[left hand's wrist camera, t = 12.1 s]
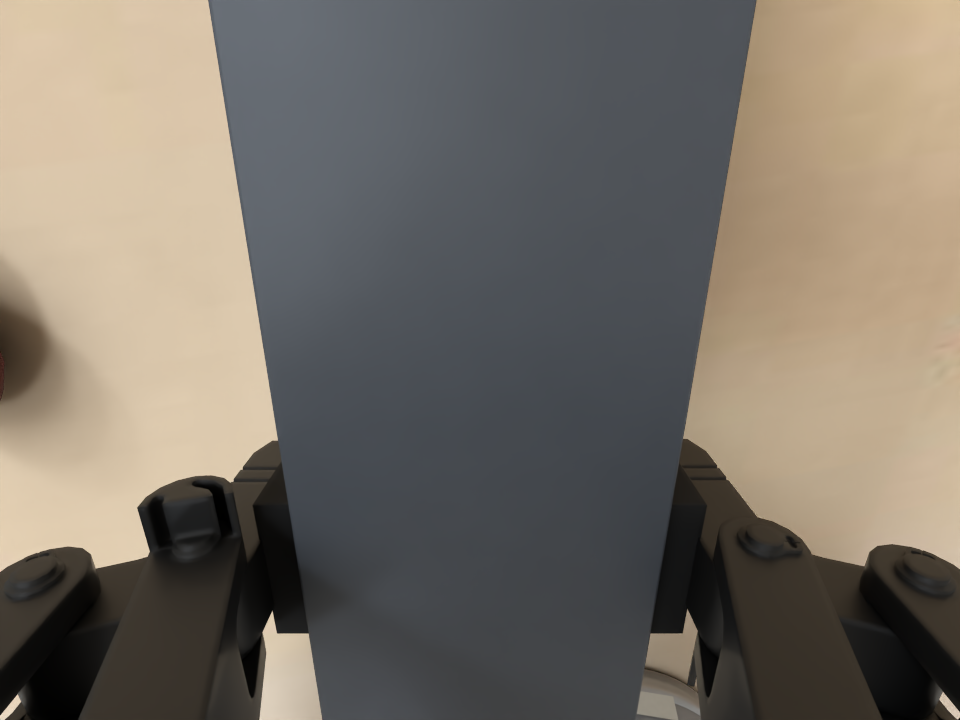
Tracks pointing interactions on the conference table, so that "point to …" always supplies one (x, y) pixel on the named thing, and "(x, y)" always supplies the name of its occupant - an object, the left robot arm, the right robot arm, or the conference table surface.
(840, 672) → the left robot arm
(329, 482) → the bar
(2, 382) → the dark red ball
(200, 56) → the conference table surface
